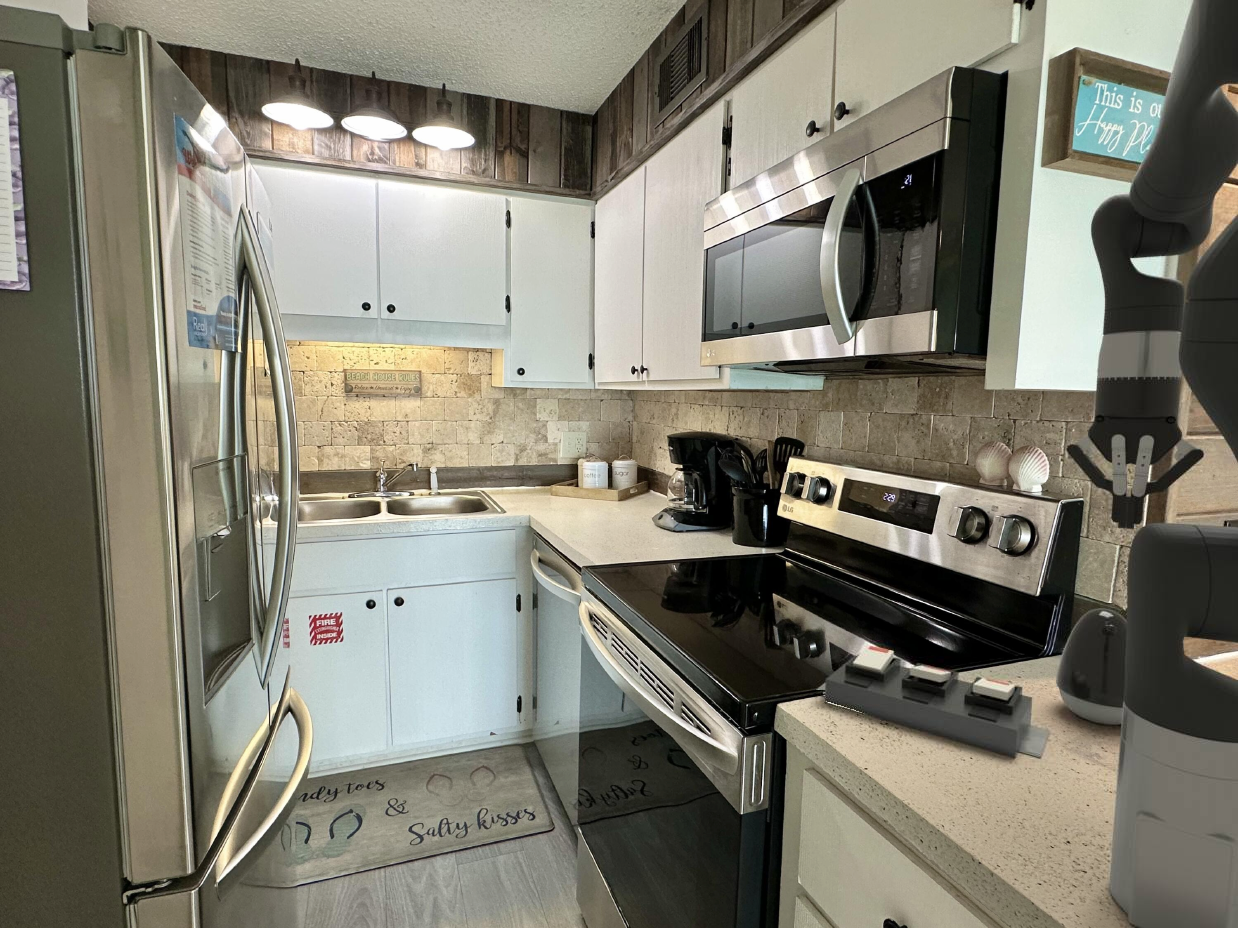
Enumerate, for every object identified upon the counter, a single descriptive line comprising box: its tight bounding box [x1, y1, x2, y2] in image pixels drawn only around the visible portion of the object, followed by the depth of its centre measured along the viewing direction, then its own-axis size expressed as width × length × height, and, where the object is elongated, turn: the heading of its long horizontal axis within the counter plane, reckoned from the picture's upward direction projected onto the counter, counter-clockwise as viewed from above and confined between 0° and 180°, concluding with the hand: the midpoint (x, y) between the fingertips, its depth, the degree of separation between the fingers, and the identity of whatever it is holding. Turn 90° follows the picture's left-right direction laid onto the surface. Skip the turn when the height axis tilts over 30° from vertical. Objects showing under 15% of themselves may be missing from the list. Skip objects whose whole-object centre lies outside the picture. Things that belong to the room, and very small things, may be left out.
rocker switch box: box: [816, 653, 1051, 759], centre depth 95 cm, size 12×29×5 cm, turn 51°
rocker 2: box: [973, 677, 1016, 700], centre depth 92 cm, size 6×4×1 cm, turn 141°
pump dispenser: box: [1055, 607, 1127, 726], centre depth 94 cm, size 10×10×15 cm
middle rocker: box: [909, 665, 951, 682], centre depth 97 cm, size 6×4×1 cm, turn 141°
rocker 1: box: [853, 644, 895, 672], centre depth 102 cm, size 6×4×1 cm, turn 141°
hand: (1126, 527), depth 78 cm, fingers closed
